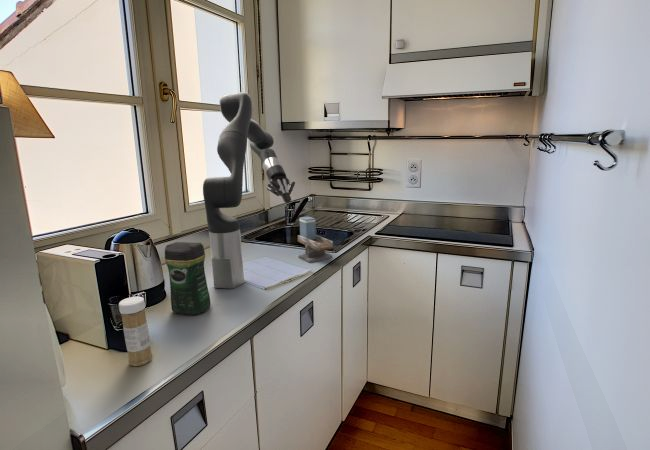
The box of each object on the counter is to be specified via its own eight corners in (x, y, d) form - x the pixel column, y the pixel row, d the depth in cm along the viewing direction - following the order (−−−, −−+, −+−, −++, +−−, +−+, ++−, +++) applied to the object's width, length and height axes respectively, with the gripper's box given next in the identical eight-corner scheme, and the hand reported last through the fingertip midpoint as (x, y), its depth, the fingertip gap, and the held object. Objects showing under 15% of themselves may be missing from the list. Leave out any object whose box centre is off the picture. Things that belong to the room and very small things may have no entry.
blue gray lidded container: (316, 239, 144) (315, 218, 142) (306, 240, 142) (305, 219, 140) (309, 236, 148) (308, 216, 146) (300, 238, 146) (299, 217, 144)
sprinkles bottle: (145, 352, 81) (136, 293, 78) (157, 359, 79) (148, 298, 76) (124, 362, 78) (113, 301, 75) (135, 370, 75) (125, 307, 72)
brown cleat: (338, 260, 138) (337, 240, 136) (314, 265, 133) (313, 245, 131) (315, 250, 151) (315, 232, 150) (293, 254, 146) (292, 236, 144)
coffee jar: (215, 304, 104) (209, 239, 100) (198, 318, 96) (190, 247, 92) (185, 301, 106) (177, 237, 102) (166, 314, 99) (157, 245, 95)
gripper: (261, 165, 155) (276, 198, 148) (290, 163, 162) (305, 194, 155) (257, 177, 161) (271, 209, 154) (285, 174, 168) (300, 205, 160)
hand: (288, 202), depth 154 cm, fingers closed
